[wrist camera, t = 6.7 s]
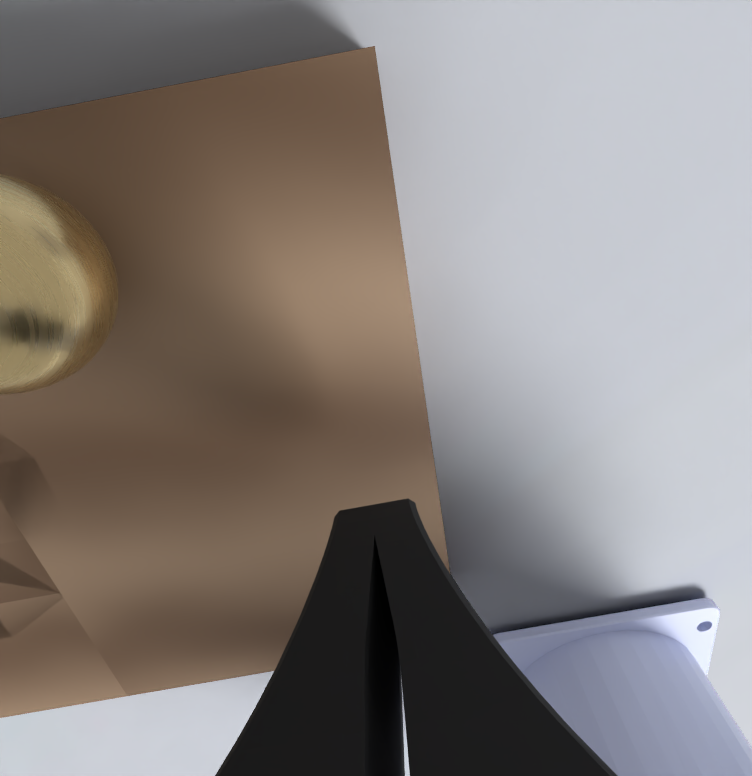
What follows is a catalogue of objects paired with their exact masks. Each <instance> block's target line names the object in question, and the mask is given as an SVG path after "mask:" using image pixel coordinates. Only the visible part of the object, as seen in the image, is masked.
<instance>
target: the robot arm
mask: <svg viewBox="0 0 752 776" xmlns="http://www.w3.org/2000/svg"><path fill="white" fill-rule="evenodd" d="M719 616H720V609H719V608H718V606H717V605H716V604H715V602H714V601H713V600H711V599H708V598H700V599H694V600H688V601H682V602H677V603H671V604H665V605H659V606H653V607H648V608H642V609H636V610H630V611H624V612H618V613H613V614H607V615H601V616H595V617H589V618H583V619H578V620H572V621H566V622H560V623H554V624H549V625H543V626H537V627H531V628H525V629H519V630H514V631H508V632H502V633H497V634H494V635H492V634H491V632H490V631H489V630H488V628H487V627H486V626H485V624H484V623H483V621H482V620H481V619H480V617H479V616H478V615H477V613H476V612H475V610H474V609H473V608H472V606H471V605H470V603H469V602H468V600H467V599H466V598H465V596H464V595H463V593H462V591H461V590H460V588H459V587H458V585H457V584H456V582H455V581H454V579H453V577H452V576H451V574H450V573H449V571H448V570H447V568H446V566H445V565H444V563H443V561H442V560H441V558H440V556H439V555H438V553H437V551H436V549H435V547H434V545H433V544H432V542H431V540H430V538H429V536H428V534H427V532H426V530H425V528H424V526H423V523H422V521H421V519H420V516H419V513H418V511H417V507H416V503H415V502H413V501H412V500H410V499H408V498H407V499H402V500H396V501H390V502H385V503H379V504H373V505H368V506H362V507H357V508H351V509H345V510H340V511H339V512H338V513H337V514H336V515H335V517H334V521H333V525H332V529H331V532H330V536H329V539H328V543H327V546H326V549H325V552H324V555H323V558H322V561H321V563H320V566H319V569H318V572H317V575H316V577H315V580H314V582H313V585H312V587H311V590H310V592H309V595H308V597H307V600H306V602H305V605H304V607H303V610H302V612H301V615H300V617H299V619H298V622H297V624H296V626H295V628H294V630H293V633H292V635H291V637H290V639H289V641H288V643H287V645H286V647H285V650H284V652H283V654H282V656H281V658H280V660H279V662H278V665H277V667H276V669H275V671H274V673H273V675H272V677H271V679H270V681H269V683H268V684H267V686H266V688H265V690H264V692H263V694H262V696H261V698H260V700H259V702H258V703H257V705H256V707H255V709H254V711H253V713H252V714H251V716H250V718H249V720H248V721H247V723H246V725H245V727H244V729H243V730H242V732H241V734H240V736H239V737H238V739H237V741H236V743H235V744H234V746H233V747H232V749H231V751H230V752H229V754H228V756H227V757H226V759H225V761H224V762H223V764H222V765H221V767H220V769H219V770H218V772H217V774H216V775H215V776H405V770H404V742H403V714H402V688H403V699H404V710H405V721H406V733H407V745H408V757H409V769H410V776H752V747H751V745H750V744H749V742H748V740H747V739H746V737H745V736H744V734H743V733H742V731H741V729H740V728H739V726H738V725H737V723H736V722H735V720H734V718H733V717H732V715H731V714H730V712H729V711H728V709H727V707H726V706H725V704H724V703H723V701H722V700H721V698H720V696H719V695H718V693H717V692H716V690H715V689H714V687H713V685H712V684H711V682H710V681H709V679H708V678H707V674H708V669H709V664H710V660H711V655H712V650H713V645H714V640H715V635H716V631H717V626H718V621H719ZM401 677H402V687H401Z"/></svg>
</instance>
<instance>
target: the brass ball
mask: <svg viewBox="0 0 752 776" xmlns="http://www.w3.org/2000/svg"><path fill="white" fill-rule="evenodd" d="M118 302H119V290H118V279H117V274H116V269H115V266H114V263H113V260H112V257H111V255H110V253H109V251H108V249H107V247H106V245H105V243H104V242H103V240H102V239H101V237H100V236H99V234H98V233H97V231H96V230H95V229H94V228H93V226H92V225H91V224H90V223H89V222H88V221H87V220H86V219H85V218H84V216H83V215H82V214H81V213H80V212H78V211H77V210H76V209H75V208H74V207H72V206H71V205H70V204H69V203H68V202H66V201H65V200H63V199H62V198H60V197H59V196H57V195H56V194H54V193H52V192H50V191H48V190H46V189H44V188H42V187H40V186H38V185H35V184H33V183H30V182H28V181H25V180H23V179H20V178H16V177H12V176H9V175H5V174H0V395H9V394H19V393H27V392H31V391H35V390H39V389H42V388H46V387H48V386H51V385H53V384H56V383H59V382H60V381H62V380H64V379H66V378H68V377H69V376H71V375H73V374H75V373H76V372H78V371H79V370H80V369H81V368H83V367H84V366H85V365H86V364H87V363H88V362H90V361H91V360H92V359H93V358H94V356H95V355H96V354H97V353H98V352H99V351H100V349H101V348H102V346H103V345H104V343H105V342H106V340H107V338H108V337H109V335H110V333H111V330H112V328H113V325H114V322H115V319H116V315H117V311H118Z"/></svg>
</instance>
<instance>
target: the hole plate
mask: <svg viewBox="0 0 752 776" xmlns="http://www.w3.org/2000/svg"><path fill="white" fill-rule="evenodd" d="M0 174H5V175H9V176H12V177H16V178H20V179H23V180H25V181H28V182H30V183H33V184H35V185H38V186H40V187H42V188H44V189H46V190H48V191H50V192H52V193H54V194H56V195H57V196H59V197H60V198H62V199H63V200H65V201H66V202H68V203H69V204H70V205H71V206H72V207H74V208H75V209H76V210H77V211H78V212H80V213H81V214H82V215H83V216H84V218H85V219H86V220H87V221H88V222H89V223H90V224H91V225H92V226H93V228H94V229H95V230H96V231H97V233H98V234H99V236H100V237H101V239H102V240H103V242H104V243H105V245H106V247H107V249H108V251H109V253H110V255H111V257H112V260H113V263H114V266H115V269H116V274H117V279H118V290H119V302H118V311H117V315H116V319H115V322H114V325H113V328H112V330H111V333H110V335H109V337H108V338H107V340H106V342H105V343H104V345H103V346H102V348H101V349H100V351H99V352H98V353H97V354H96V355H95V356H94V358H93V359H92V360H91V361H90V362H88V363H87V364H86V365H85V366H84V367H83V368H81V369H80V370H79V371H78V372H76V373H75V374H73V375H71V376H69V377H68V378H66V379H64V380H62V381H60V382H59V383H56V384H53V385H51V386H48V387H46V388H42V389H39V390H35V391H31V392H27V393H19V394H9V395H0V718H2V717H8V716H14V715H20V714H25V713H31V712H37V711H43V710H49V709H55V708H60V707H66V706H72V705H78V704H84V703H89V702H95V701H101V700H107V699H113V698H119V697H124V696H130V695H136V694H142V693H148V692H154V691H159V690H165V689H171V688H177V687H183V686H188V685H194V684H200V683H206V682H212V681H218V680H223V679H229V678H235V677H241V676H247V675H252V674H258V673H264V672H270V671H275V669H276V667H277V665H278V662H279V660H280V658H281V656H282V654H283V652H284V650H285V647H286V645H287V643H288V641H289V639H290V637H291V635H292V633H293V630H294V628H295V626H296V624H297V622H298V619H299V617H300V615H301V612H302V610H303V607H304V605H305V602H306V600H307V597H308V595H309V592H310V590H311V587H312V585H313V582H314V580H315V577H316V575H317V572H318V569H319V566H320V563H321V561H322V558H323V555H324V552H325V549H326V546H327V543H328V539H329V536H330V532H331V529H332V525H333V521H334V517H335V515H336V514H337V513H338V512H339V511H340V510H345V509H351V508H357V507H362V506H368V505H373V504H379V503H385V502H390V501H396V500H402V499H407V498H408V499H410V500H412V501H413V502H415V503H416V507H417V511H418V513H419V516H420V519H421V521H422V523H423V526H424V528H425V530H426V532H427V534H428V536H429V538H430V540H431V542H432V544H433V545H434V547H435V549H436V551H437V553H438V555H439V556H440V558H441V560H442V561H443V563H444V565H445V566H446V568H447V570H448V571H449V573H450V569H449V562H448V555H447V548H446V541H445V534H444V527H443V520H442V513H441V506H440V499H439V492H438V485H437V478H436V471H435V464H434V457H433V450H432V443H431V436H430V429H429V422H428V415H427V408H426V401H425V394H424V387H423V380H422V373H421V366H420V359H419V352H418V345H417V338H416V331H415V324H414V318H413V311H412V304H411V297H410V290H409V283H408V276H407V269H406V262H405V255H404V248H403V241H402V234H401V227H400V220H399V213H398V206H397V199H396V192H395V185H394V178H393V171H392V164H391V157H390V150H389V143H388V136H387V129H386V122H385V115H384V108H383V101H382V94H381V87H380V80H379V73H378V66H377V59H376V52H375V46H373V47H368V48H362V49H357V50H352V51H347V52H342V53H336V54H331V55H326V56H321V57H316V58H311V59H305V60H300V61H295V62H290V63H285V64H279V65H274V66H269V67H264V68H259V69H254V70H248V71H243V72H238V73H233V74H228V75H222V76H217V77H212V78H207V79H202V80H197V81H191V82H186V83H181V84H176V85H171V86H165V87H160V88H155V89H150V90H145V91H140V92H134V93H129V94H124V95H119V96H114V97H109V98H103V99H98V100H93V101H88V102H83V103H77V104H72V105H67V106H62V107H57V108H52V109H46V110H41V111H36V112H31V113H26V114H20V115H15V116H10V117H5V118H0Z"/></svg>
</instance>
